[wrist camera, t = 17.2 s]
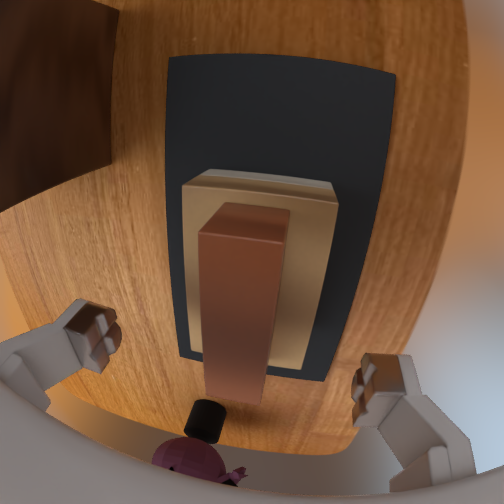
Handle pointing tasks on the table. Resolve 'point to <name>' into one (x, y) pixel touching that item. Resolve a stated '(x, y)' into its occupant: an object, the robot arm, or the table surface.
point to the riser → (53, 93)
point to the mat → (282, 160)
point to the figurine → (199, 447)
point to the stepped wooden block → (253, 273)
